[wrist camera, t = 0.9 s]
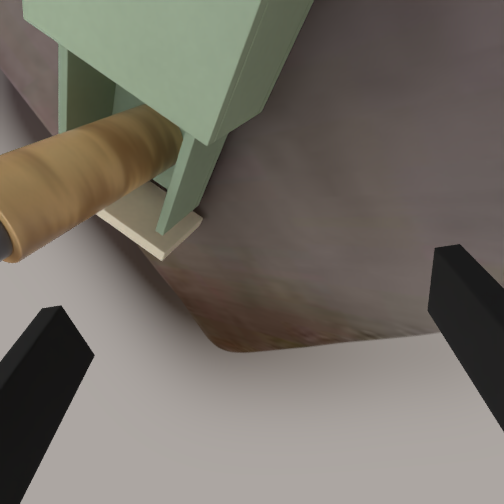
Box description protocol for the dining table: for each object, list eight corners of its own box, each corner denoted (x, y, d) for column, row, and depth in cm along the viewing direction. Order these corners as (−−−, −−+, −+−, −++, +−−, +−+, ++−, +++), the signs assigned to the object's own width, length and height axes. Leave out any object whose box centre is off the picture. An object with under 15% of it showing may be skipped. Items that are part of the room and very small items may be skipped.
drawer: (196, 233, 35) (159, 269, 31) (100, 165, 36) (49, 190, 31) (258, 93, 24) (214, 116, 20) (118, -2, 25) (43, -2, 20)
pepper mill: (137, 89, 27) (-142, 173, 14) (191, 127, 27) (-42, 246, 14) (127, 144, 31) (-100, 250, 18) (175, 178, 31) (-20, 309, 18)
